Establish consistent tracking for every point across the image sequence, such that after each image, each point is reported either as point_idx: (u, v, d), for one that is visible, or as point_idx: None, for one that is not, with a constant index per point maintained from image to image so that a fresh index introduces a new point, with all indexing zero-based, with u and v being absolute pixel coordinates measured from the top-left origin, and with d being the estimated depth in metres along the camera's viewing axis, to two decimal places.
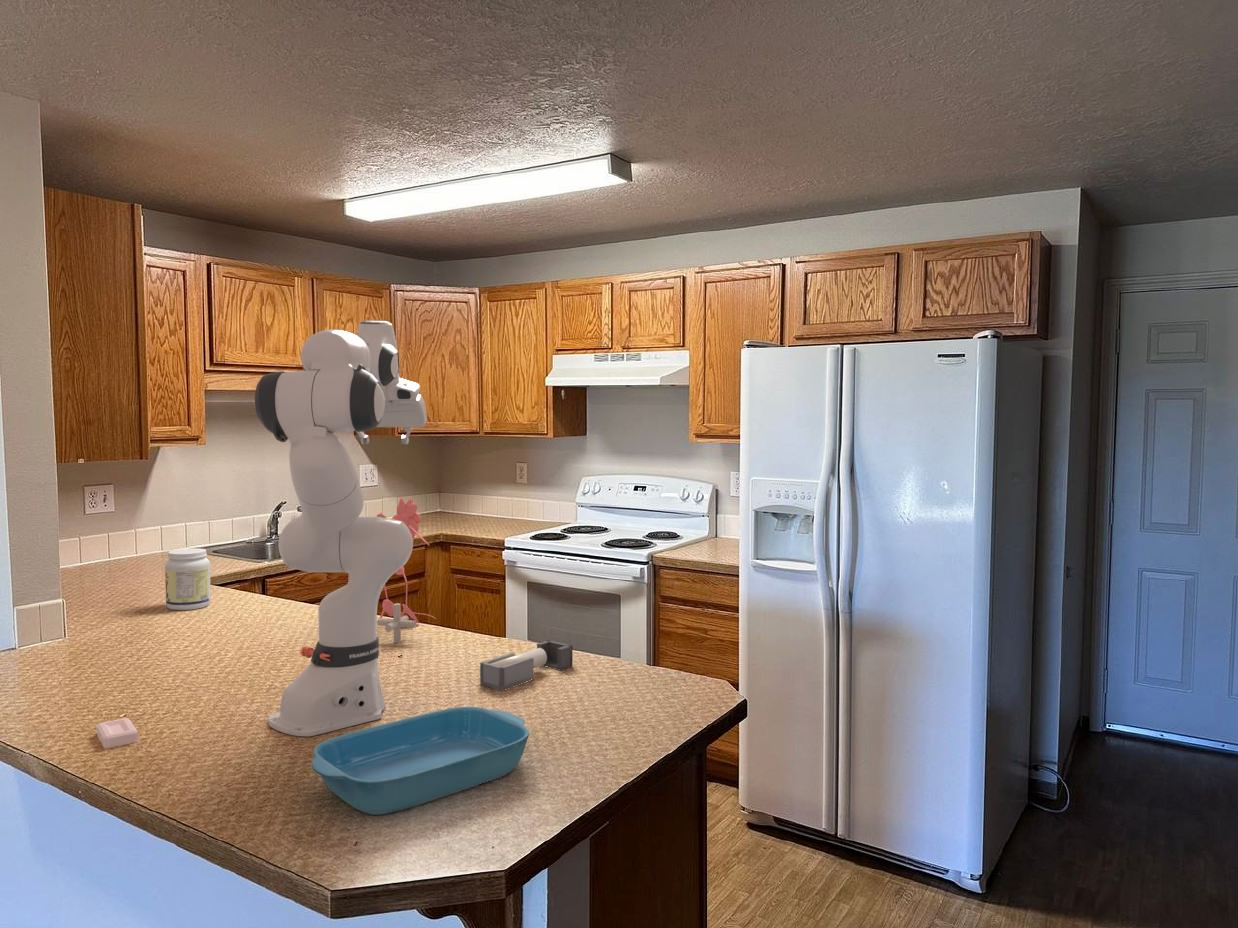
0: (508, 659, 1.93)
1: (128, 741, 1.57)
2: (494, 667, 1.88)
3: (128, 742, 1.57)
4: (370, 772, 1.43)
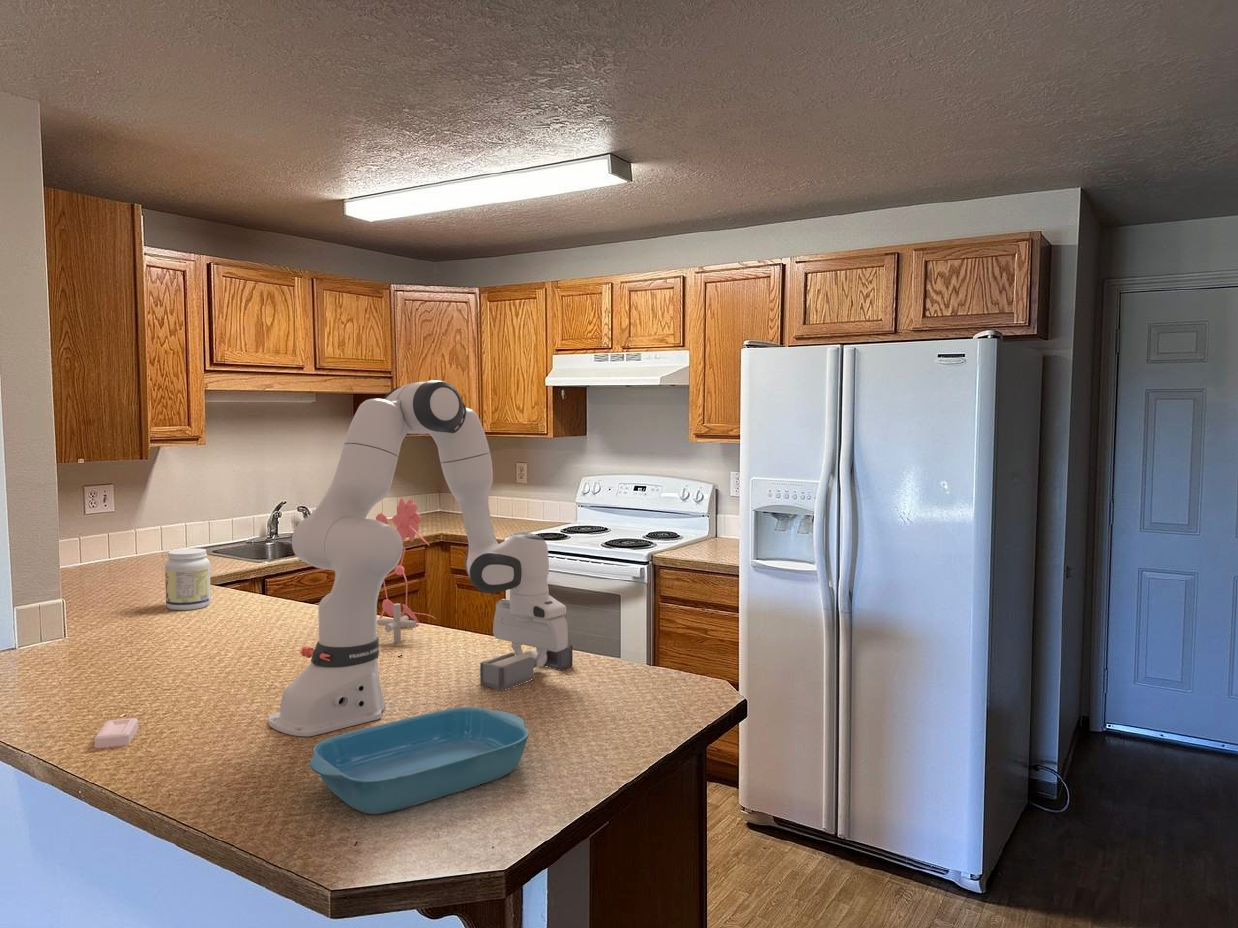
0: (508, 659, 1.93)
1: (117, 743, 1.56)
2: (494, 667, 1.88)
3: (117, 744, 1.56)
4: (370, 771, 1.44)
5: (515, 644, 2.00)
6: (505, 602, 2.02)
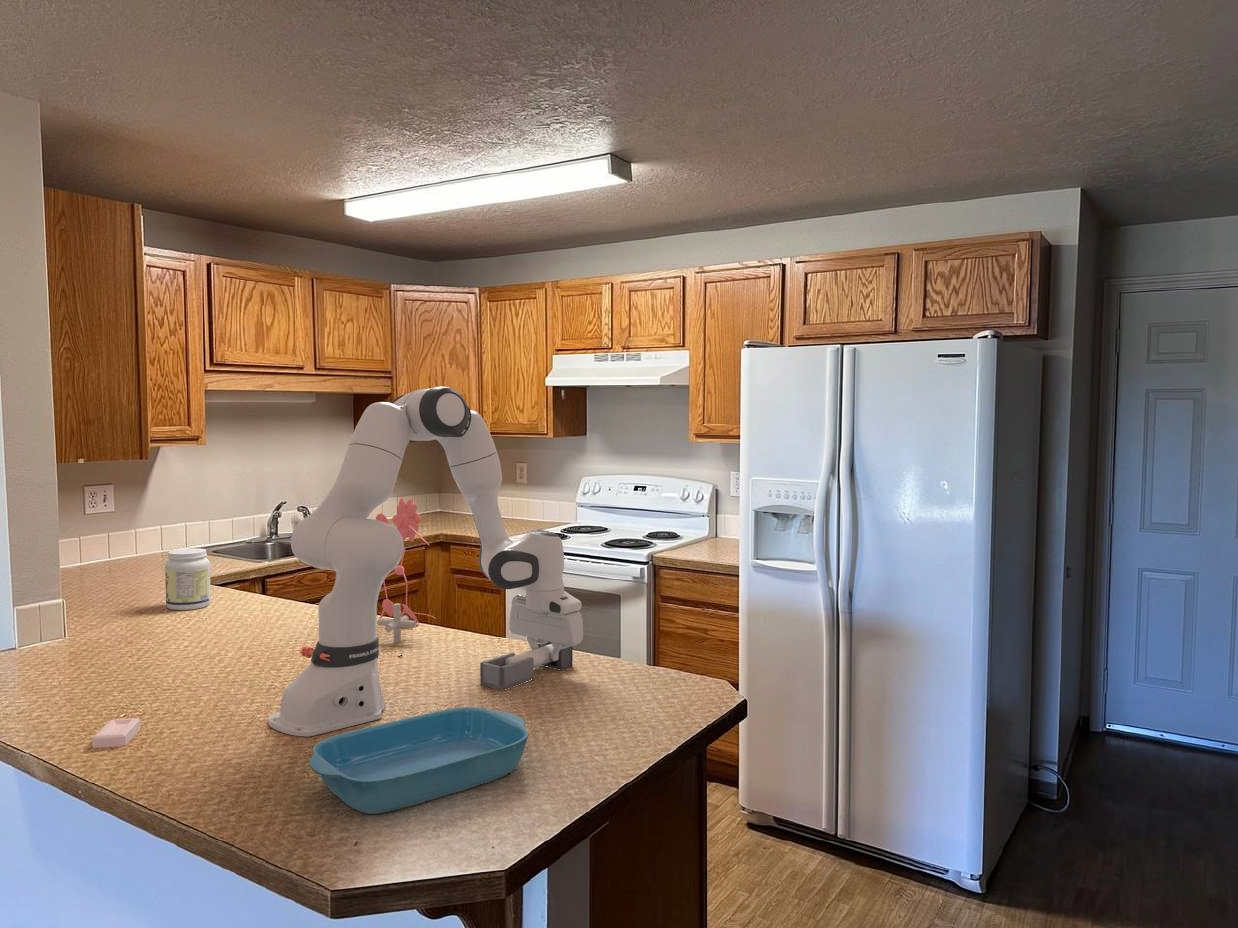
0: (525, 654, 1.97)
1: (114, 744, 1.56)
2: (494, 667, 1.88)
3: (114, 745, 1.56)
4: (370, 771, 1.44)
5: (531, 639, 2.04)
6: (521, 598, 2.06)
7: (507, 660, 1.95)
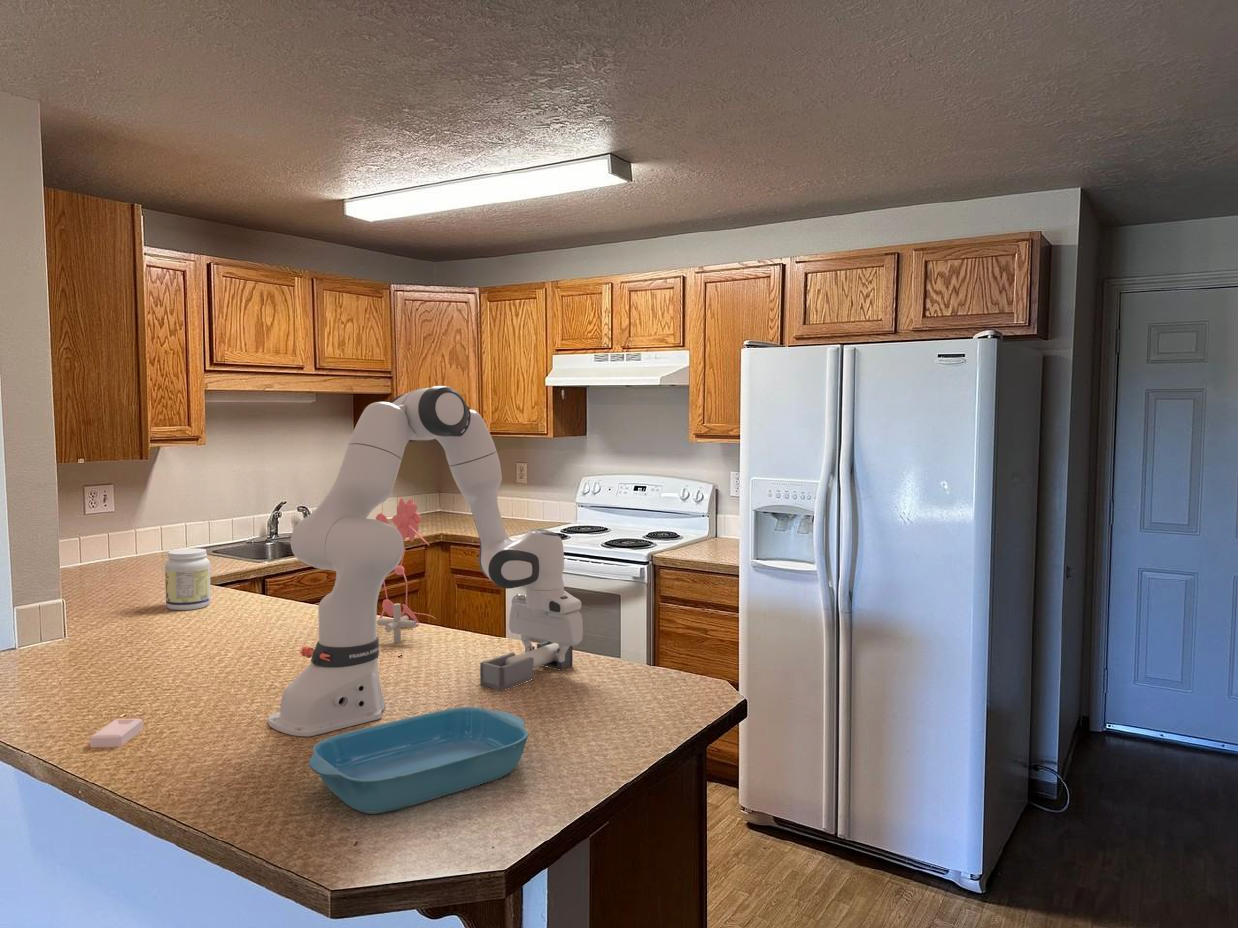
0: (525, 654, 1.97)
1: (110, 744, 1.56)
2: (494, 667, 1.88)
3: (110, 745, 1.56)
4: (369, 771, 1.44)
5: (524, 637, 2.05)
6: (520, 597, 2.06)
7: (507, 660, 1.95)
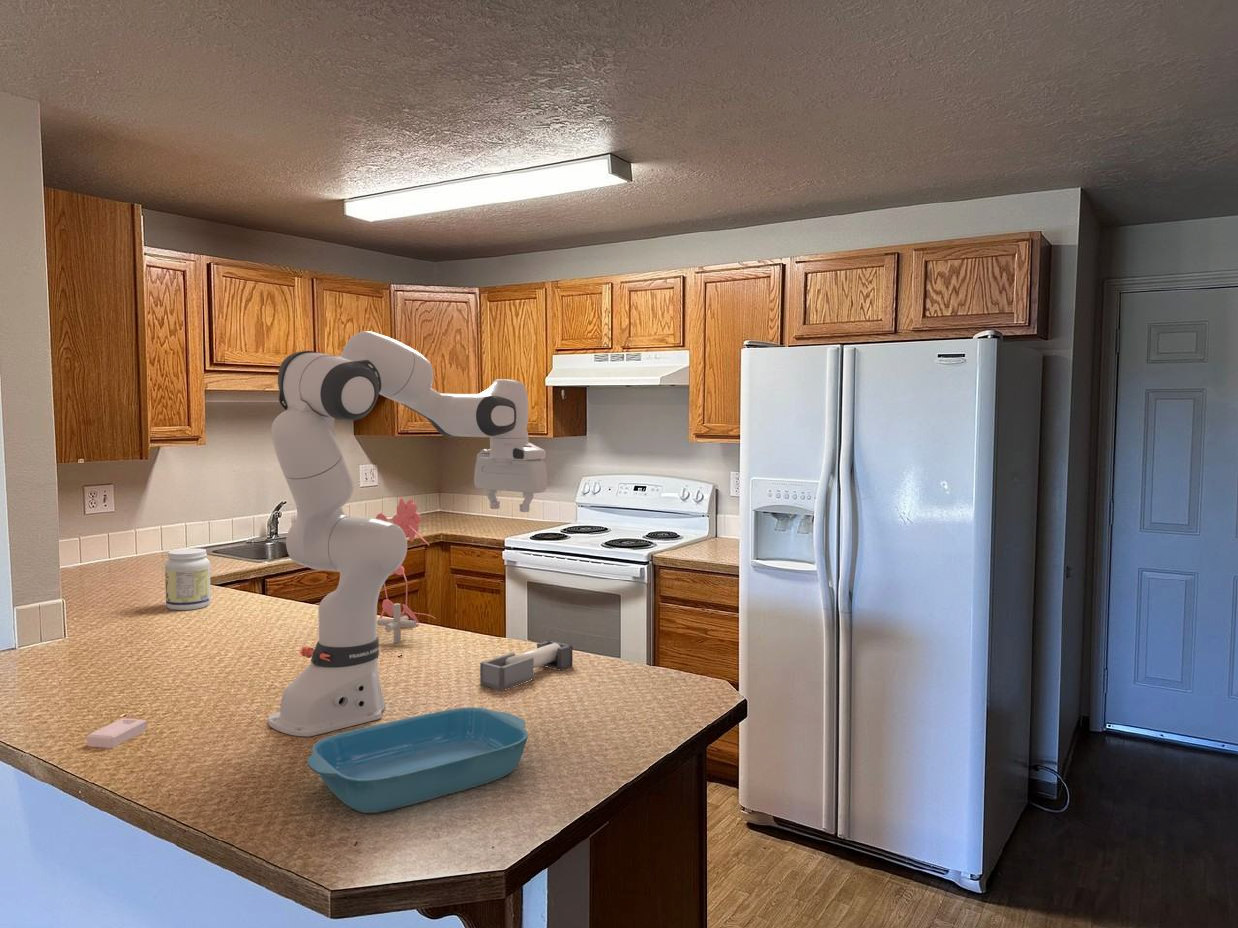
0: (525, 654, 1.97)
1: (104, 745, 1.55)
2: (494, 667, 1.88)
3: (104, 746, 1.55)
4: (369, 770, 1.44)
5: (489, 491, 2.03)
6: (485, 452, 2.04)
7: (507, 660, 1.95)
